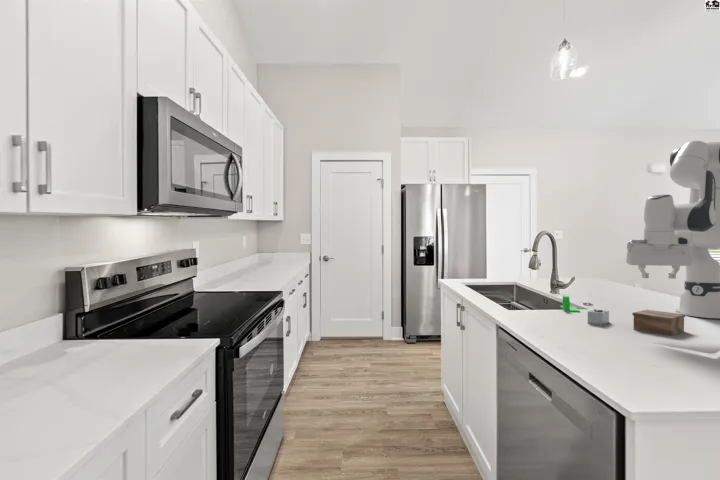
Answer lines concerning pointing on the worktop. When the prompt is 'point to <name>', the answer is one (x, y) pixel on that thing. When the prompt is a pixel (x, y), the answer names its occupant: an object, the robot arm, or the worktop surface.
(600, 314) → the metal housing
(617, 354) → the worktop surface
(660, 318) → the walnut stand
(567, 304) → the mechanical part
